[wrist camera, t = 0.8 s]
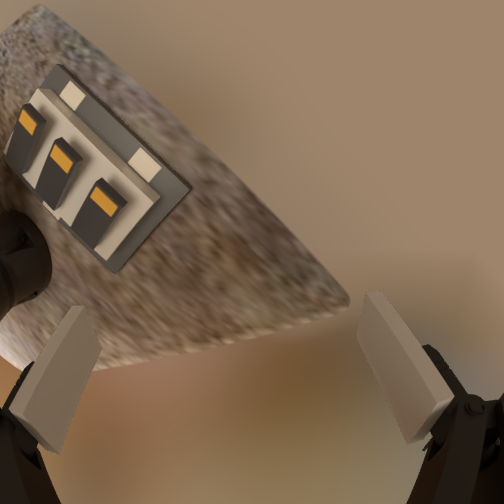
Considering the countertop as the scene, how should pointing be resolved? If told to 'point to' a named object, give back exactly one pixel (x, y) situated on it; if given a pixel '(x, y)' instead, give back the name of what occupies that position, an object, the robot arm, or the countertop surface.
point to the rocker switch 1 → (25, 138)
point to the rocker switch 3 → (98, 213)
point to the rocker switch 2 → (58, 173)
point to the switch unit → (102, 165)
